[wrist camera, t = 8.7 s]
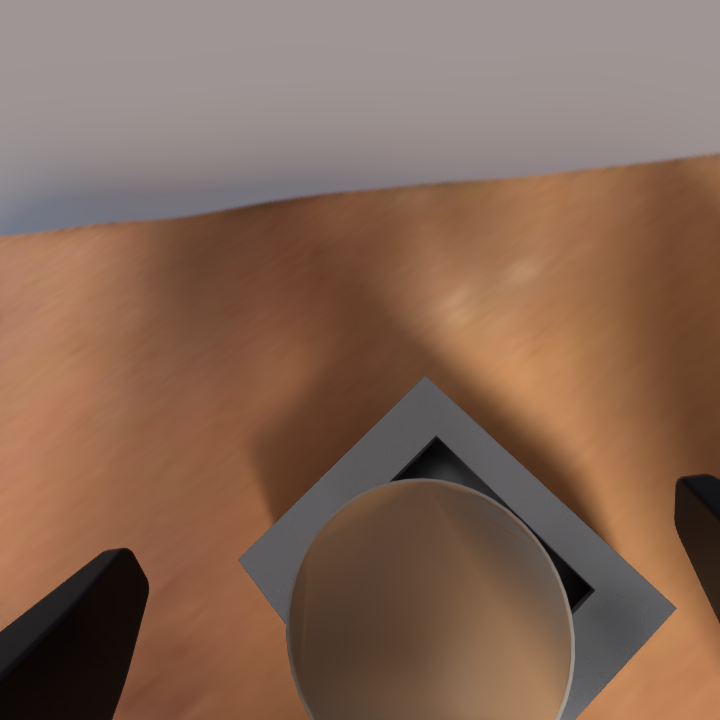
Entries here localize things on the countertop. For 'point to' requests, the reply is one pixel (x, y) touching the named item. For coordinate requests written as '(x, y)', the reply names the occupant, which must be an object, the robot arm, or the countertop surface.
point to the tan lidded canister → (428, 611)
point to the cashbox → (507, 487)
